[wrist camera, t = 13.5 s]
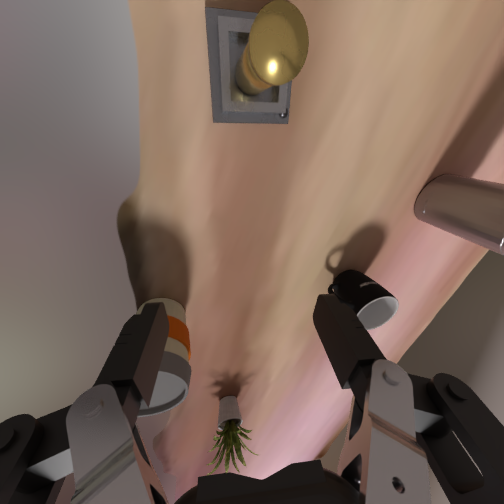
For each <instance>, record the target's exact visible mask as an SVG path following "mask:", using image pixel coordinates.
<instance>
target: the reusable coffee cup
mask: <svg viewBox="0 0 504 504" xmlns="http://www.w3.org/2000/svg"><path fill="white" fill-rule="evenodd" d="M153 302H163V303H164V305H165V309H166V313H167V317H168V320H169V334H168V338H167V342H166V346H165V349H164V353H163V357H162V360H161V364H160V368H159V372H158V375H157V379H156V383H155V386H154V390H153V394H152V398H151V401H150V405H149V408H148V409H139V413H138V416H137V417H145V416H151V415H156V414H160V413H163V412H166V411H168V410H171V409H173V408H174V407H176V406H178V405H179V404H180V403H182V402H183V400H184V399H185V398H186V396H187V394H188V389H189V383H190V377H191V366H190V365H189V360H190V355H191V352H190V340H189V331H188V328H187V326H186V317H185V310H184V308H183V306H182V305H181V304H179V303H178V302H176V301H174V300H172V299H168V298H155V299H151V300H149V301H146V302H145V303H143V304H142V305H141V306H140V308H139V309H138V311H137V313H136V314H141V312H142V309H143V307H144V305H145V304H146V303H153Z"/></svg>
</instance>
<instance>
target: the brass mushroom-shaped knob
mask: <svg viewBox="0 0 504 504" xmlns="http://www.w3.org/2000/svg"><path fill="white" fill-rule="evenodd" d="M308 44H309V39H308V30H307V26H306V22H305V20H304V18H303V16H302V14H301V12H300V11H299V10H298V8H297V7H296V6H295V5H293V4H292V3H290V2H288V1H285V0H275V1H272V2H270V3H268V4H266V5H265V6H264V7H263V8H262V9H261V10H260V11H259V13H258V14H257V16H256V18H255V20H254V22H253V24H252V27H251V29H250V33H249V38H248V43H247V45H246V47H245V49H244V51H243V53H242V55H241V56H240V58H239V60H238V62H237V65H236V71H235V75H236V81H237V84H238V86H239V88H240V89H241V90H242V91H243V92H244V93H245V94H247V95H251V96H253V95H257V94H259V93H261V92H263V91H265V90H266V89H268V88H270V87H272V86H280V85H283V84H286V83H288V82H289V81H291V80H292V79H294V78H295V77H296V76H297V75H298V73H299V72H300V70H301V69H302V67H303V65H304V63H305V60H306V57H307V52H308Z"/></svg>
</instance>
